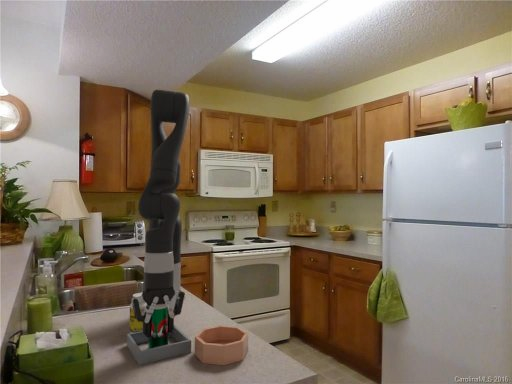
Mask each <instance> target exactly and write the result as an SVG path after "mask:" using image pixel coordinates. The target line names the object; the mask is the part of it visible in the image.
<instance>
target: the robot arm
mask: <svg viewBox="0 0 512 384" xmlns="http://www.w3.org/2000/svg"><path fill="white" fill-rule="evenodd" d="M189 116H190V97H189V95H188V94H187V93H185V92H180V91H173V90H166V89H155V90H153V91H152V93H151V98H150V124H151V155H150V157H151V158H150V159H151V160H150V173H149V177H148V180H147V182H146V185H145V187H144V189H143V191H142V193H141V196H140V197H139V200H138V205H137V206H138V207H137V210H138V214H139V215H140V217H141V218H142V219H144V220H149V223H148V224H149V225H148V230H147V231H146V232H145V242H144V243H145V244H144V245H145V246H144V247H145V249H144V252H145V253H144V259H143V260H144V261H143V292H141V293H142V295H141V296H138V297H136V298H135V297H133V296H131V298H130V301H131V303H132V306H133V311H134V315H135V318H136V319H137V321H138V322H143V334H144V335H145V336H146V337H150V322H149V320H150V318H151V315H152V314H153V310H154V308H155V306H156V304H161V303H165V304H166V306H167V307H168V313H169V320H168V333H170V332H172V330H173V328H174V325H175V323H174V322H175V319H174V318H175V317H176V316H178V315H179V316H180V315H181V313H182V309H183V304H184V300H185V296H186V294H185V292H184V291H183V290H182V289H181V274H182V273H181V271H182V270H181V256H182V255H181V253H182V252H181V250H182V248H181V247H182V246H181V244H182V243H181V242H182V232H183V231H182V230H183V229H182V227H183V226H182V224H183V223H182V219H181V218H180V216H179V213H180V208H181V201H180V198H179V197H178V195H176V193H175V192H176V190H177V189H178V187H179V185H180V183H181V167H182V165H181V161H180V153H181V149H182V145H183V143H184V142H183V141H184V137H185V134H186V130H187V124H188V122H189V121H188V120H189ZM164 123H170V124H174V128H173V130H172V131H171V132H170V134H169V135H168V137H167V135H166V133H165V129H164ZM142 300H144V301H145V302H146V303H147V304H146V307H145V312H144V314H143V316H142V315H141V311H140V307H139V306H140V305H141V301H142Z"/></svg>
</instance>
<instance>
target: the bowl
mask: <svg viewBox="0 0 512 384" xmlns="http://www.w3.org/2000/svg"><path fill="white" fill-rule="evenodd" d="M248 352H249V333H248V331H245V330H244V329H243V328H241V327H239V326H229V325H215V326H212V327H207V328H203V329H201V330H200V331H199V332H198V333H197V334H196V335H195V336H194V355H195V357H196V358H197V359H199V361H201V362H202V363H203V364H208V365H209V364H211V365H218V366H226V365H230V364H234V363H238V362H241V361H244V359H245V358H246V356H247V354H248Z"/></svg>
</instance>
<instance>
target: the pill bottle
mask: <svg viewBox="0 0 512 384" xmlns="http://www.w3.org/2000/svg"><path fill="white" fill-rule="evenodd" d="M142 293H143V292H136V293H133V294H132V297H135V298H136V297H138V296H141V295H142ZM146 304H147V303H146V302H145V301H144V300H142V301H141V305H140V306H139V307H140V311H141V315H142V316H143V314H144V312H145V307H146ZM140 331H143V322H138V321H137V319H136V318H135V315H134V311H133V306H132V302H131V303H130V304H129V334H130V333H135V332H140Z"/></svg>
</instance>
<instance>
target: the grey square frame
mask: <svg viewBox="0 0 512 384" xmlns="http://www.w3.org/2000/svg"><path fill="white" fill-rule="evenodd" d="M171 337H173V338H174V339H175V341H177V342H173V343H168V345H164V346H160V347H155V348H151V349H149V348H148V349H143V350H141V348H140V347H139V344H143V343H148V337H146V336H145V335H144V334H143V331H140V332H135V333H130V332H129V333H127V334H126V347H127V348H128V350H129V351H130V353H131V355H132V356H133V358H134V359H135V362H137V364H138V366H141V365H145V364H149V363H152V362H156V361H157V362H158V361H161V360H164V359H169V358H173V357H176V356H181V355H186V354H189V353H192V340H191V339H190V337H188V336H187V335H186V334H185V333H183V331H182V330H180V328H178V327H177V326H176V325H175V324H174V328H173V330H172V332H170V333H168V338H171Z"/></svg>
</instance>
